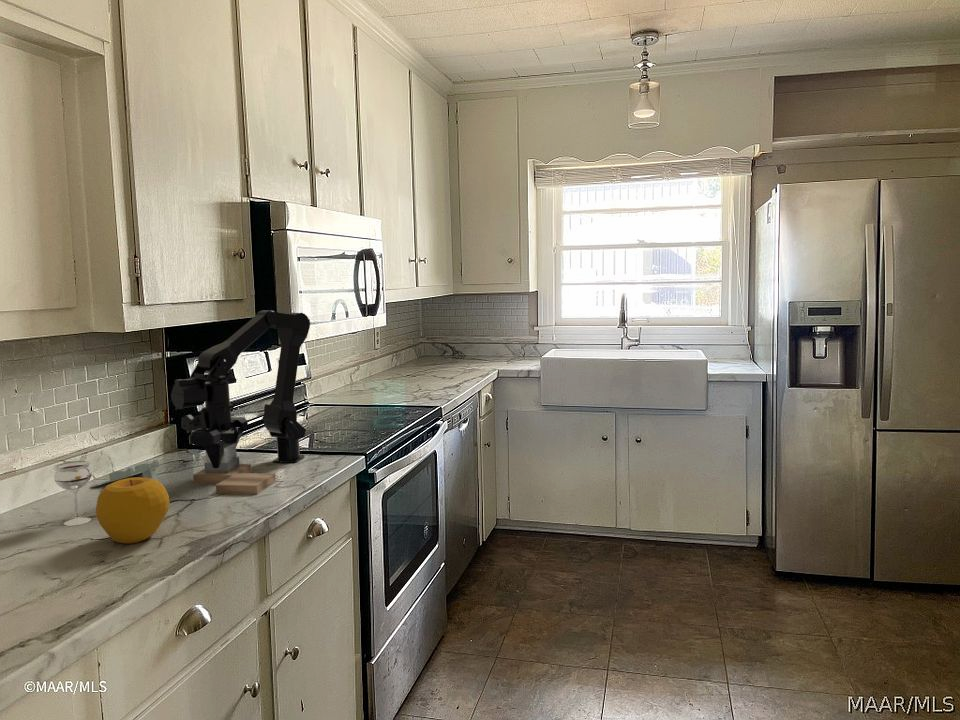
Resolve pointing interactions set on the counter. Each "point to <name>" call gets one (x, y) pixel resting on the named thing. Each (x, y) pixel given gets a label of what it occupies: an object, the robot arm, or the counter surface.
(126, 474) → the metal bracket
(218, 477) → the stand
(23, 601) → the counter surface
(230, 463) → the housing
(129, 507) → the apple
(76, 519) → the wineglass
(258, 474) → the stand
